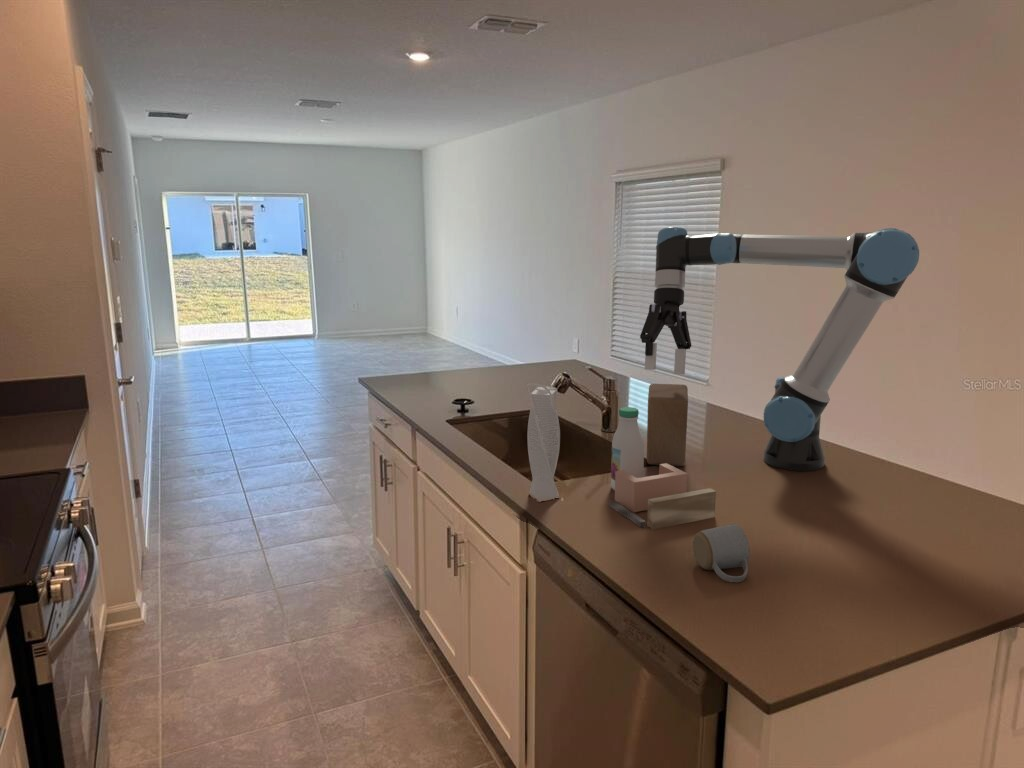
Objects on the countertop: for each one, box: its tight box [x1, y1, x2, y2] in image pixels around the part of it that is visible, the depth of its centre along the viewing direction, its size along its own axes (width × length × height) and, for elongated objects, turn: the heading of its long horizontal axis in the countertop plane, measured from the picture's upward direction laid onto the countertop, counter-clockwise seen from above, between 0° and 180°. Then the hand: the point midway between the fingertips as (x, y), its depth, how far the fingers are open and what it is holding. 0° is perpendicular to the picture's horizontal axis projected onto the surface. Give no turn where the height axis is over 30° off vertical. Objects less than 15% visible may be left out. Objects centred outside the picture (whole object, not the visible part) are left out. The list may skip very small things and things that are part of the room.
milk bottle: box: [610, 406, 645, 491], centre depth 167 cm, size 8×8×20 cm
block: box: [646, 383, 689, 467], centre depth 184 cm, size 10×10×20 cm
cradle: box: [614, 463, 688, 513], centre depth 159 cm, size 8×14×7 cm, turn 113°
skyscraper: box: [526, 382, 561, 500], centre depth 161 cm, size 8×7×28 cm
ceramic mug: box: [692, 523, 751, 583], centre depth 127 cm, size 11×8×8 cm
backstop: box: [608, 487, 717, 530], centre depth 154 cm, size 15×19×6 cm
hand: (665, 371), depth 177 cm, fingers open, 13 cm apart
